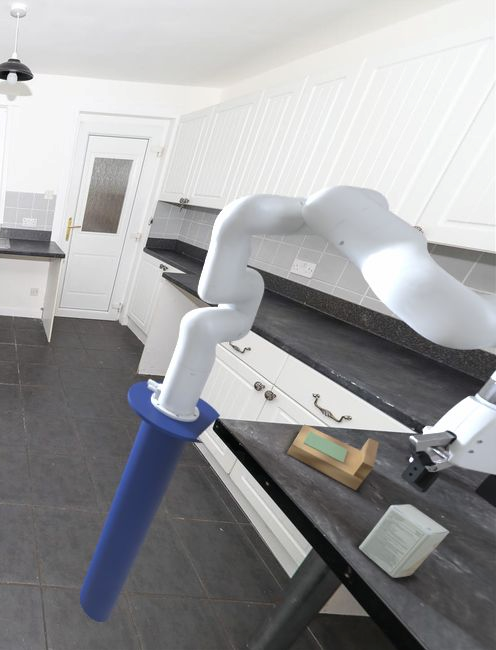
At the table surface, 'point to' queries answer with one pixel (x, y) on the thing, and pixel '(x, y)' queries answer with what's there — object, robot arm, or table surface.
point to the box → (402, 540)
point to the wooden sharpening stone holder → (334, 456)
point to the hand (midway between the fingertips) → (449, 492)
